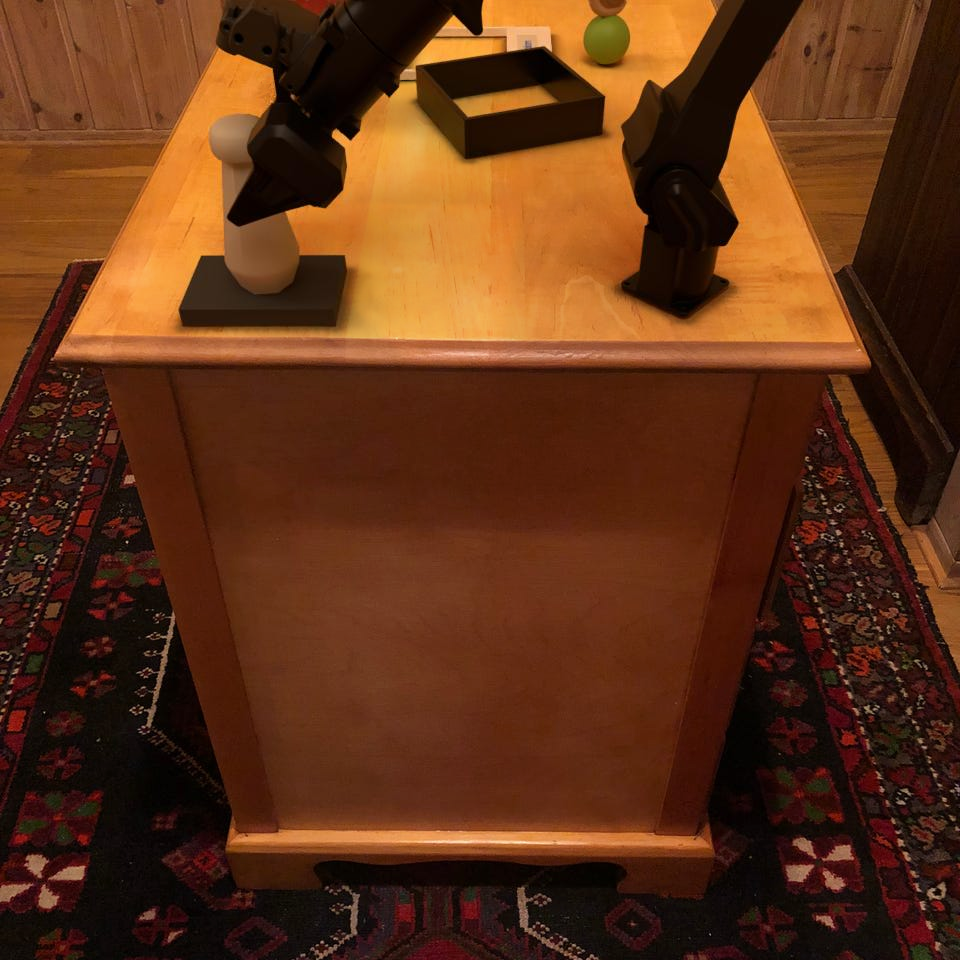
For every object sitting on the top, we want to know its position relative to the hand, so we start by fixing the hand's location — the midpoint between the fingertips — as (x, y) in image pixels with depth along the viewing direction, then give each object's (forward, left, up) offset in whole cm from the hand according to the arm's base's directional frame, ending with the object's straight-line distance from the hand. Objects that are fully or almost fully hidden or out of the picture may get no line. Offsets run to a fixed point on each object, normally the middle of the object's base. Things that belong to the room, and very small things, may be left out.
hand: (242, 191), depth 70 cm
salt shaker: (0, 0, -8) cm, 8 cm away
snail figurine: (+58, +11, -9) cm, 60 cm away
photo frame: (+50, +23, -9) cm, 56 cm away
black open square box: (+39, +9, -9) cm, 41 cm away
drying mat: (0, 0, -9) cm, 9 cm away
